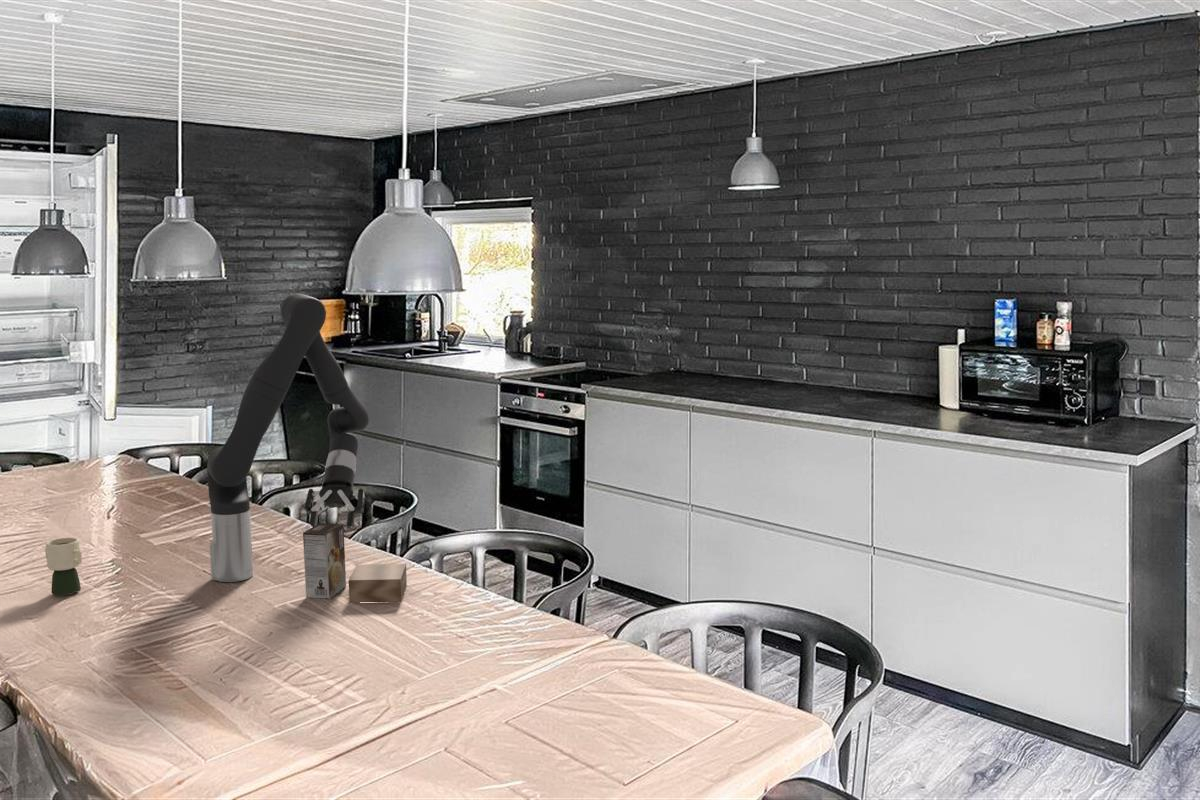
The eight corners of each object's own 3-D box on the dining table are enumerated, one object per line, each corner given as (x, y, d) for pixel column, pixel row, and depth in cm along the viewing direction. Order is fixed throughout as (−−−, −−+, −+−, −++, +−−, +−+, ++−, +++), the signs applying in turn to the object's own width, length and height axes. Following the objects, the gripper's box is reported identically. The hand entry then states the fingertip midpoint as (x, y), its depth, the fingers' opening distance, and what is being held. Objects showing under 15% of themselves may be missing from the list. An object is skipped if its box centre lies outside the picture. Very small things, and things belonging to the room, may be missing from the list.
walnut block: (349, 605, 243) (348, 580, 242) (357, 588, 255) (356, 564, 254) (401, 603, 244) (400, 579, 243) (406, 587, 256) (406, 563, 255)
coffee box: (322, 585, 256) (320, 522, 254) (346, 587, 255) (344, 523, 253) (304, 597, 247) (302, 532, 245) (329, 599, 246) (327, 533, 244)
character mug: (95, 591, 251) (92, 539, 249) (71, 600, 245) (67, 547, 243) (61, 586, 255) (57, 535, 253) (36, 595, 248) (32, 542, 247)
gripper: (308, 463, 263) (298, 519, 253) (365, 463, 263) (357, 519, 253) (314, 479, 269) (305, 535, 259) (370, 479, 269) (362, 534, 259)
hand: (331, 527), depth 256 cm, fingers open, 8 cm apart
